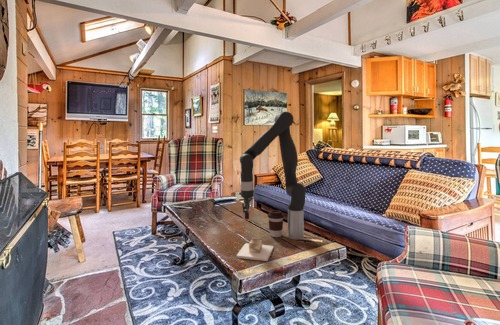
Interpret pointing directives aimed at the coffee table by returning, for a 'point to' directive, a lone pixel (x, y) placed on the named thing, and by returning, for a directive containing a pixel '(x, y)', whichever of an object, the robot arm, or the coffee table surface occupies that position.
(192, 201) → the coffee table surface
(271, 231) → the coffee cup
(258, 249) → the maple block
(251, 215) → the terracotta block
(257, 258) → the base plate
